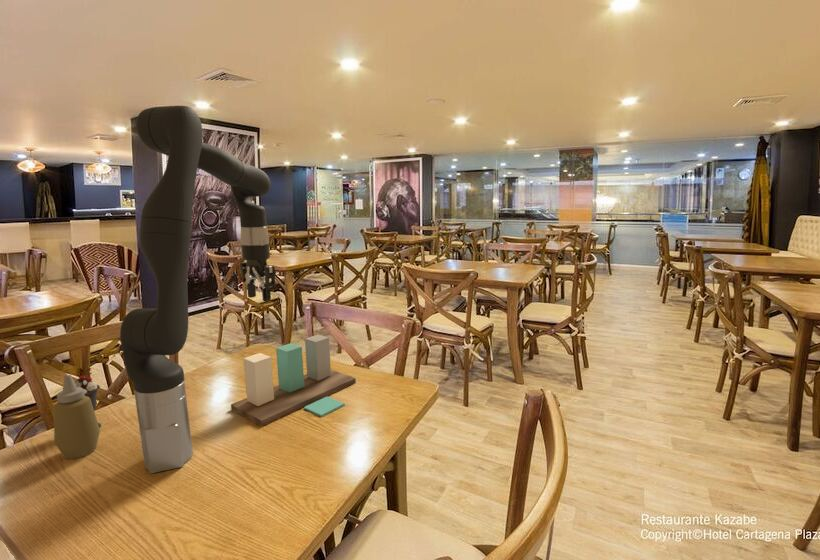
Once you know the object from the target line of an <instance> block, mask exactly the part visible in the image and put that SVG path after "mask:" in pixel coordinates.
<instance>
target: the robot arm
mask: <svg viewBox="0 0 820 560" xmlns="http://www.w3.org/2000/svg"><path fill="white" fill-rule="evenodd" d="M135 123H136V124H135V125H136V131H137V134H138V136H139V138H140V140H141V141H142V143H143V144H144V145H145V146H146V147H148V149H150V150H152V151H154V152H156V153H159V154H162V155H165V156H168V157H167V163H166V167H165V170H164V173H163V175H162V177H161V178H160V179H159V182H158V183H157V184H156V186H155V187H154V189H153V190H152V191H151V193H150V194H149V197H148V198H147V199H146V201H145V203H144V204H143V207H142V209H141V214H140V216H141V217H140V227H139V246H140V249H141V252H142V254H143V256H144V258H145V261H146V262H147V265H148V266H149V268H150V270H151V272H152V274H153V277H154V278H155V279H154V280H155V281H156V282H155V283H156V288H157V289H156V290H157V304H156V308H147V307H146V308H145V307H144V308H143V307H141V308H135V309H133V310H131V311H129V312H128V313H126V315H125V316H124V318H123V320H122V321H121V326H120V332H119V333H120V334H119V336H120V344H121V350H122V355H123V360H124V365H125V368H126V369H125V370H126V373H127V374H126V375H127V376H128V378H129V380H130V381H131V383H132V386H133V393H134V399H135V407H136V415H137V420H138V421H137V422H138V427H139V436H140V441H141V442H140V443H141V449H142V455H143V463H144V467H145V469H147V471H149V474H154V473H159V472H164V471H169V470H173V469H179V468H182V467H184V464H186V463H187V462H188V461H189V460H190V459H191V458H192V456H193V455H194V454H193V453H194V452H193V451H194V450H193V442H192V434H191V424H190V418H189V408H188V400H187V389H186V381H185V374H184V373H185V372H184V368H183V367H182V366H181V365H180V364H178V363H177V362H174V361H173V360H171V359H170V358H168V357H167V356H173V355H176V354H178V353H179V352H180V351H181V350H183V348H184V346H185V344H186V342H187V337H188V333H189V296H188V293H189V291H188V280H189V279H188V277H189V276H188V275H189V256H190V249H191V248H190V247H191V239H192V238H191V236H192V226H193V225H192V223H193V220H192V219H193V216H192V215H193V205H194V204H193V203H194V194H195V185H196V177H197V172H198V169H200V170H202V171H203V172H206V173H208V174H209V175H212V176H213V177H214V178H216V179H218V180H219V181H220V182H223V183H224V184H225V185H229V186H230V190H231V192H232V195H233V198H234V202H235V204H236V206H237V210H238V212H239V221H240V245H241V258H242V260H244V261H242V262H240V263H239V265H240V276H241V281H242V283H245V285H246V288H247V297H248V298H250V299H251V298H252V299H253V298H255V297H257V293H256V289H257V288H256V280H257V281H258V282H259V283H260V286H261V288H262V289H261V293H262V294H261V295H262V296H261V297H262V301H263V302H269V301H271V300H272V293H271V291H272V290H271V288H273V287H276V275H275V274H276V271H275V270H276V269H275V265H269V264H268V262H267V260H268V259H270V257H271V254H270V253H271V252H270V239H269V231H268V226H267V225H268V224H267V213H266V209H265V207H264V206H263V205H258V204H255V203H254V202H253V201H252V199H251V197H255V198H256V197H265V196H266V195H267V194H269V192H270V190H271V188H272V183H271V179H270V178H269V175H268V174H267V173H266V172H265V171H264V170H262V169H260V168H258V167H256V166H253V165H251V164H248V163H244V162H243V161H241V160H240V159H239V158H238V157H236V156H234V155H233V154H231V153H230V152H229V151H226V150H225V149H223V148H219V146H214V145H212V144H210V143H209V144H208V143H206V142H203V125H202V121H201V119H200V116H199V114H198V113H197V111H196V110H195V109H194V108H192V107H190V106H187V105H165V106H164V105H163V106H154V107H153V106H152V107H149V108H145V109H143V110H141V112H140V113H139V114H138V115H137V119H136V122H135Z"/></svg>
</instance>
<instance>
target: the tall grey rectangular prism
mask: <svg viewBox="0 0 820 560" xmlns="http://www.w3.org/2000/svg"><path fill="white" fill-rule="evenodd" d="M304 345H305V346H304V348H305V362H306V365H305V366H306V374H307V377H309V378H312V379H314V380H317V381H319V380H321V379H324V378H326V377H328V376H331V370H332V369H331V352H330V351H331V350H330V336H329V337H328V336H325V335H321V334H316V335H312V336H309V337H306V338H304Z"/></svg>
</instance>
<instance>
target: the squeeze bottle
mask: <svg viewBox="0 0 820 560" xmlns="http://www.w3.org/2000/svg"><path fill="white" fill-rule="evenodd" d="M63 376H64V377H63V386H62V390H60V391H59V392H57V394H56V398H57V402H56V403H55V405H54V406H53V407H52V409H53V410H52V411H53V432H54V437H53V439H54V444H55V446H56V448H57V449H58V450H59V451H60V453H61V455H63V457H64V459H69V460H70V459H77V458H78V459H79V458H82V457H85V456H87V455H89V454H91V453H93V452H94V451H95V450H96V448H97V445H98V441H99V437H100V433H101V430H100V428H99V426H98V423H99V422H98V419H97V416H96V413H95V411H94V409H93V406H92V402H91V399H90V398H89V397H87V396H84V389H83V388H80V387H76V385H75V381H74V379H73V376H72V374H67V375H63Z"/></svg>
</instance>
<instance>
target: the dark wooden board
mask: <svg viewBox="0 0 820 560" xmlns="http://www.w3.org/2000/svg"><path fill="white" fill-rule="evenodd" d="M356 380H357V379H356V377H354V376H351V375H348V374H345V373H343V372H339V371H337V370H333V369H331V376H328V377H326V378H324V379H321V380H319V381H317V380H314V379H312V378H309V377H307V373H306V374H304V387H302V388H300V389H298V390H295V391H293V392H290V393H289V392H287V391H284V390H282V389H280V388H279V384H278V385H276V386H273V389H274V400H271V401H269V402H267V403H264V404H262V405H260V406H256V405H254V404H252V403H250V402H248V401H247V397H246V398H244V399H241V400H239V401H236V402H234V403H231V404H230V410H231V411H233V412H234V413H237V414H238V415H241V416H242V417H244V418H246V419H247V420H250V421H251V422H253V423H255V424H257V425H259V426H260V427H263V426H265V425H268V424H270V423H272V422H274V421H277V420H278V419H280V418H283V417H284V416H287V415H289V414H292V413H293V412H295V411H298V410H300V409H302V408H304V407H305V406H307V405H310V404H312V403H314V402H316V401H318V400H320V399H322V398H325V397H327V396H328V397H329V396H331V395H333V394H334V393H337V392H339V391H341V390H343V389H345V388H348V387H349V386H352V385H354V384H356Z"/></svg>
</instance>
